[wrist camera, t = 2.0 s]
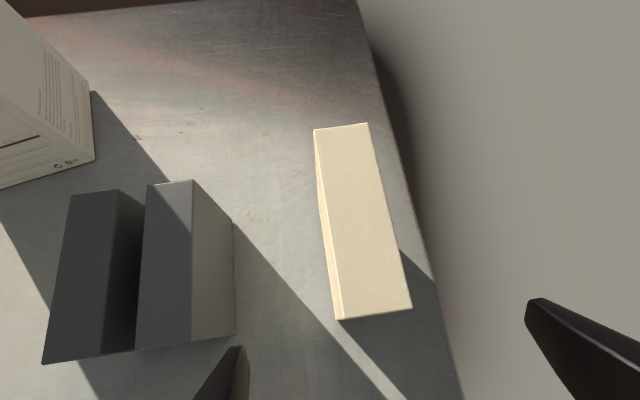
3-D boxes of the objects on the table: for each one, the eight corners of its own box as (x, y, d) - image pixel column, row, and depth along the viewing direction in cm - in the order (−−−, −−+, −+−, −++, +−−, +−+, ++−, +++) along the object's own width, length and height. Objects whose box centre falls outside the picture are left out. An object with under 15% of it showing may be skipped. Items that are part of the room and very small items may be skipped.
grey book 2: (175, 344, 19) (99, 356, 13) (135, 350, 19) (39, 365, 13) (178, 226, 22) (118, 188, 16) (144, 231, 22) (70, 195, 16)
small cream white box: (373, 314, 20) (414, 309, 11) (335, 320, 20) (343, 320, 11) (351, 202, 23) (368, 121, 14) (318, 207, 23) (313, 129, 13)
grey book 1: (236, 335, 20) (191, 342, 13) (197, 341, 20) (133, 351, 13) (232, 219, 23) (193, 178, 16) (198, 224, 22) (146, 184, 16)
